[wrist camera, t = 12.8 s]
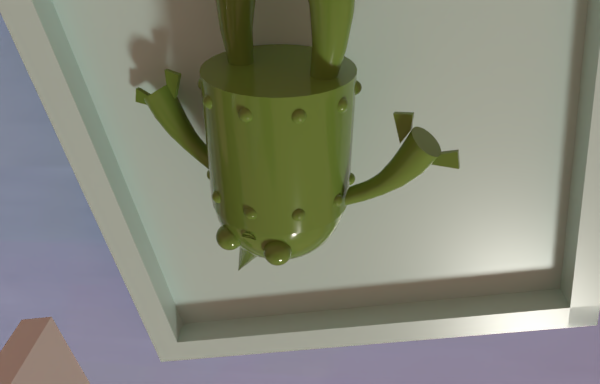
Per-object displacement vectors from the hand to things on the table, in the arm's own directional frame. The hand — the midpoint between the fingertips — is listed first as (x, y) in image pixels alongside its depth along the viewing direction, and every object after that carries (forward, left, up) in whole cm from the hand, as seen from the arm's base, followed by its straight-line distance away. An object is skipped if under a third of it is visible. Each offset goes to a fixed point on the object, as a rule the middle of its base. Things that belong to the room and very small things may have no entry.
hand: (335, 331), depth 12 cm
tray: (0, 0, -11) cm, 11 cm away
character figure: (-2, +1, -10) cm, 10 cm away
